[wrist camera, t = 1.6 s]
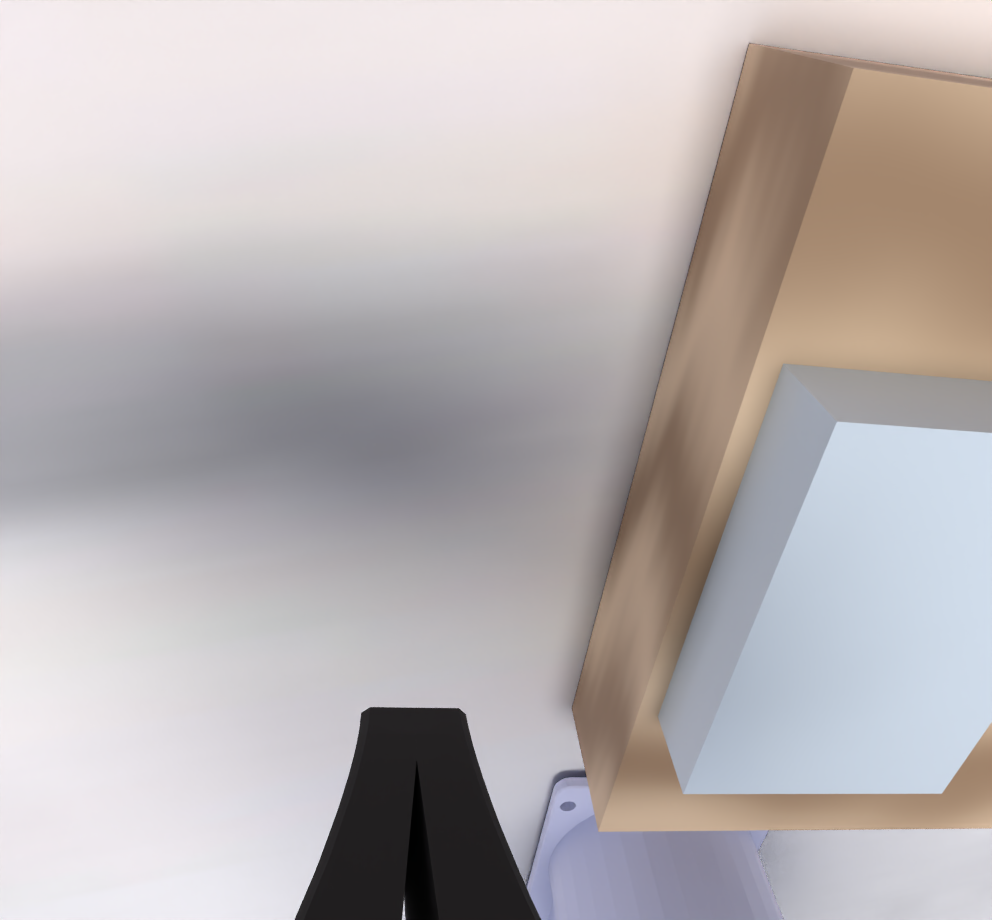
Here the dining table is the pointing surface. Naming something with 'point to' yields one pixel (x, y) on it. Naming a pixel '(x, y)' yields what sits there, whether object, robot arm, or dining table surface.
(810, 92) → the tan flat wooden block
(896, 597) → the tile
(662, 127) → the dining table surface
